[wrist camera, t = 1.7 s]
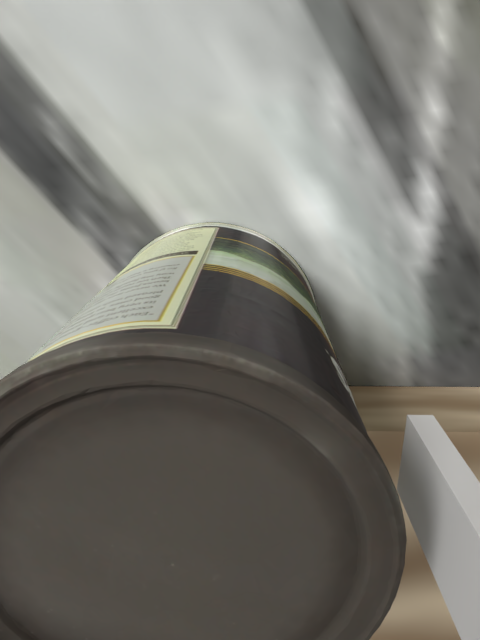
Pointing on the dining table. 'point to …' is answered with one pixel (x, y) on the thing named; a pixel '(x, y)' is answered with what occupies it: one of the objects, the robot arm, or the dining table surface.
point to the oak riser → (388, 435)
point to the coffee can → (193, 462)
